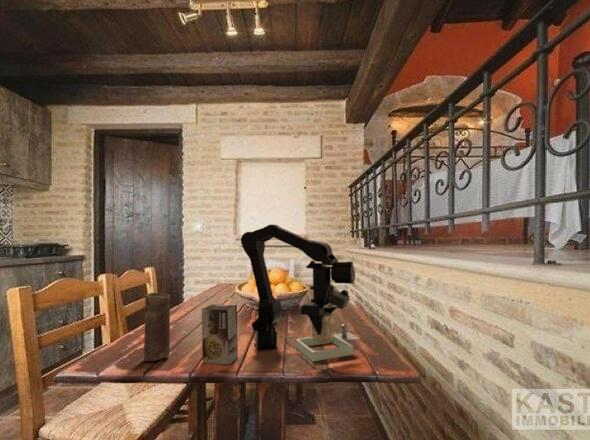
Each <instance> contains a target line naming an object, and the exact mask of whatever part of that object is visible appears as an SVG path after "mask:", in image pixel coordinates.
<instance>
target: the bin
mask: <svg viewBox="0 0 590 440" xmlns="http://www.w3.org/2000/svg"><path fill="white" fill-rule="evenodd" d="M331 343H332V344H333V345H335V346H336V347H333V348H327V349H326V348H325V349H320V350H313V349H312V348H310V346H316V345H317V346H319V345H325V344H326V343H321V342H315V341H312V336H309V337H301V338H295V351H296V352H297V353H298V354H300V355H301V356H302V357H303V358H304V359H305V360H307V361H308V362H309V364H311V365H312V366H314V365H315V362H317V361H318V362H319V361H322V360H323V361H324V360H330V359H335V358H336V359H337V358H342V357H347V356H353V355H354V345H352V344H351V343H349V342H347V341H344V340H342V339H340V338H338V337H337V336H335V335H334V339H333V340H331V341H330V342H328V343H327V344H331Z"/></svg>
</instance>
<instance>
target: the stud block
mask: <svg viewBox="0 0 590 440" xmlns="http://www.w3.org/2000/svg"><path fill="white" fill-rule="evenodd" d="M339 328H340V332H339V333H334V335H335V336H337V337H338V338H340V339H342V340H344V341H345V342H347V341H351V340H357V339H358V340H359V339H360V337H358V336H356V335H354V334H352V333H350V332H349V331H348V330H349V329H348V325H347V324H343V323H342V324H341V325H340V327H339ZM347 331H348V332H347Z"/></svg>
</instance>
